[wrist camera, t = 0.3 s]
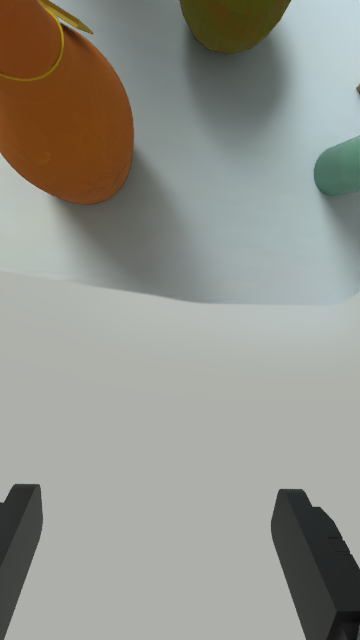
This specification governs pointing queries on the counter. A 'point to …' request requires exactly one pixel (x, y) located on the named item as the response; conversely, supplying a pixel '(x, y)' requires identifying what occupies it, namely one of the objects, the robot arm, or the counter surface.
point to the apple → (232, 22)
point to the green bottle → (339, 168)
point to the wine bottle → (61, 105)
